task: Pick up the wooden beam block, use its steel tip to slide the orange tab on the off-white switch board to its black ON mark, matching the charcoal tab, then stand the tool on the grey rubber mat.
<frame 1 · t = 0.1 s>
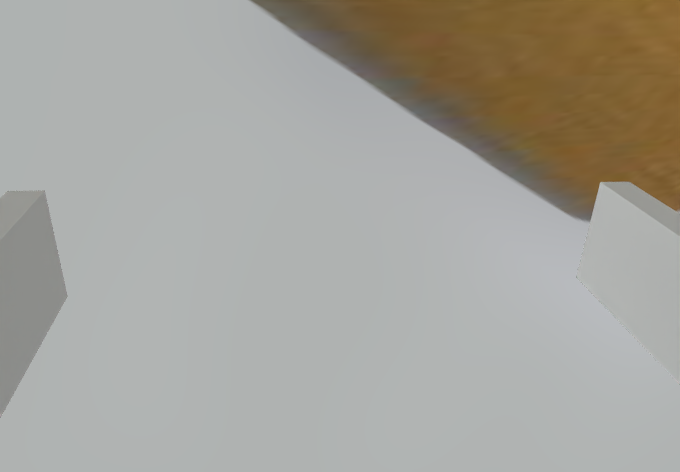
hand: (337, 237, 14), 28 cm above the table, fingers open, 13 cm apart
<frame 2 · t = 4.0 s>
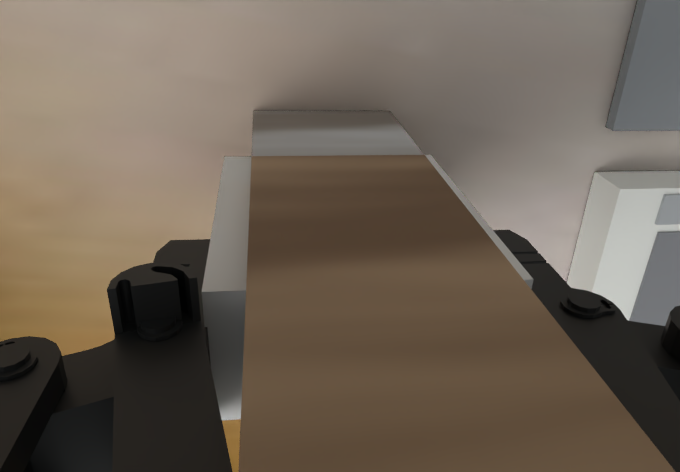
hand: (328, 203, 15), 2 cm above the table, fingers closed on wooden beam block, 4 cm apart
wooden beam block: (321, 175, 17), on the table, touching gripper
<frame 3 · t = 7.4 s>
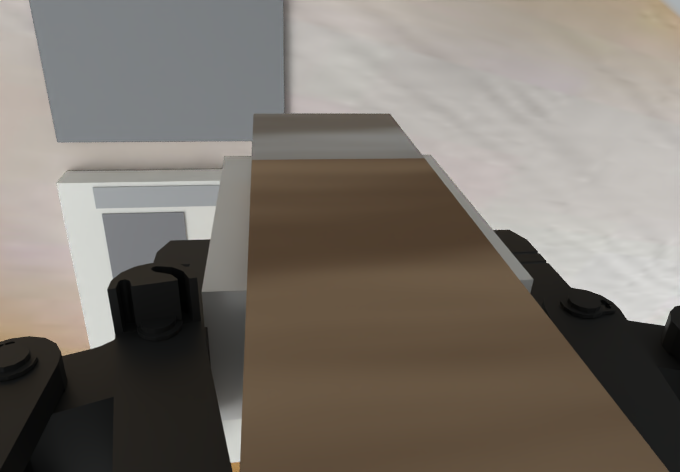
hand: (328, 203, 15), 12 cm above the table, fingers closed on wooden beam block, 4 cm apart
wooden beam block: (321, 177, 17), point 10 cm above the table, touching gripper
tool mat: (164, 36, 24), on the table
switch board: (231, 323, 31), on the table
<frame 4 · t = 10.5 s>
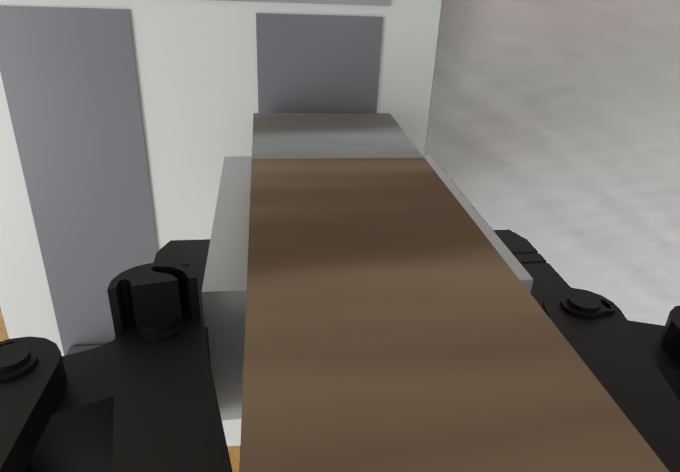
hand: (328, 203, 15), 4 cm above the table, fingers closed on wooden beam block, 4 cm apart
wooden beam block: (321, 177, 17), point 2 cm above the table, touching gripper, tab a
tab b: (112, 401, 19), point 3 cm above the table, slide at 10.0 cm
switch board: (213, 231, 20), on the table
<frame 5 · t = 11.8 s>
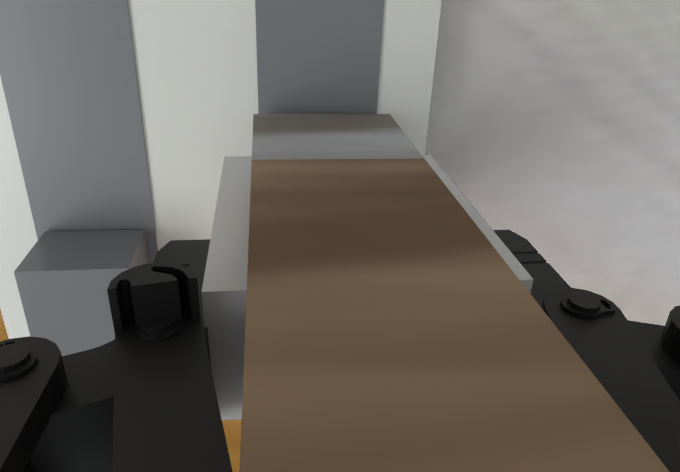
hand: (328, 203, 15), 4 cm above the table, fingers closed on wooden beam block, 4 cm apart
wooden beam block: (321, 178, 17), point 2 cm above the table, touching gripper, tab a
tab b: (92, 292, 17), point 3 cm above the table, slide at 10.0 cm
switch board: (205, 106, 18), on the table
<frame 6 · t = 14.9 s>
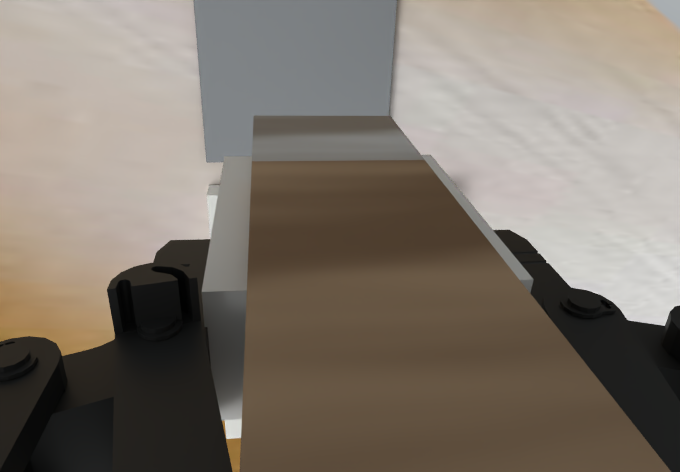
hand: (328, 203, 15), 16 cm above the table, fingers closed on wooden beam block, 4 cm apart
wooden beam block: (321, 179, 17), point 14 cm above the table, touching gripper
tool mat: (297, 77, 30), on the table
switch board: (328, 312, 37), on the table
when the fingers open (4 cm above the table, at t = 17.6 s): wooden beam block drops 1 cm, resting on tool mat.
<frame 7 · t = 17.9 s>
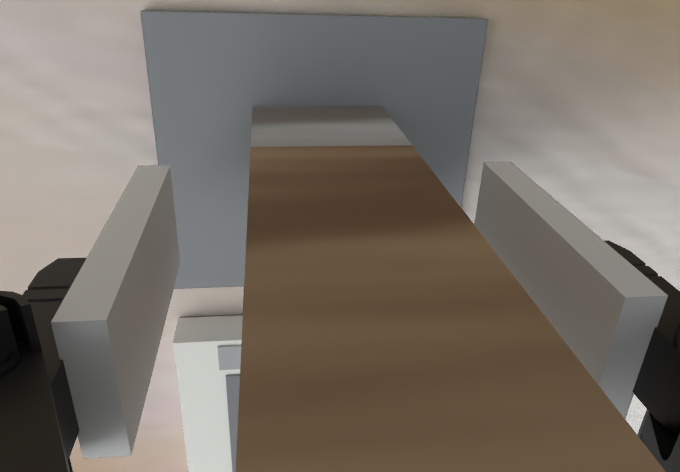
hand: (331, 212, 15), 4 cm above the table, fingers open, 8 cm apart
wooden beam block: (317, 167, 18), resting on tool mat
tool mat: (317, 160, 19), on the table
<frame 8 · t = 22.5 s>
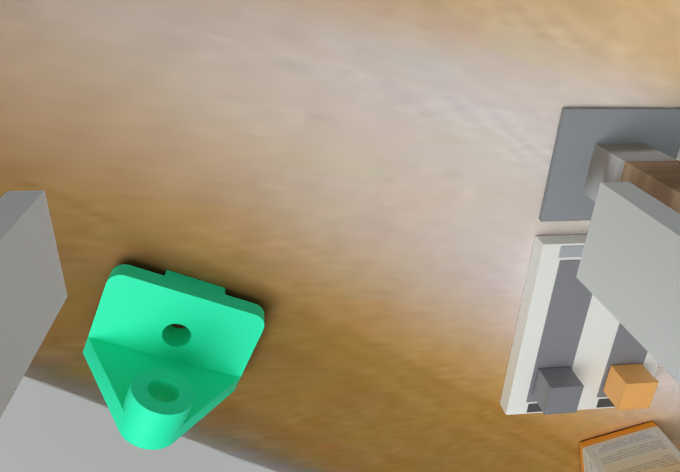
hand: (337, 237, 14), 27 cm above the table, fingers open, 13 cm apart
wooden beam block: (613, 168, 44), resting on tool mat
supplement box: (615, 443, 59), on the table
tab b: (557, 390, 50), point 3 cm above the table, slide at 10.0 cm
tab a: (629, 386, 51), point 3 cm above the table, slide at 10.1 cm
camera mount: (181, 314, 46), on the table
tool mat: (610, 165, 44), on the table
switch board: (590, 322, 51), on the table
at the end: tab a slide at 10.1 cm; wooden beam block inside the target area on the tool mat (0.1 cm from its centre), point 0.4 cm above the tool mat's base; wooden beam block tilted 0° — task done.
